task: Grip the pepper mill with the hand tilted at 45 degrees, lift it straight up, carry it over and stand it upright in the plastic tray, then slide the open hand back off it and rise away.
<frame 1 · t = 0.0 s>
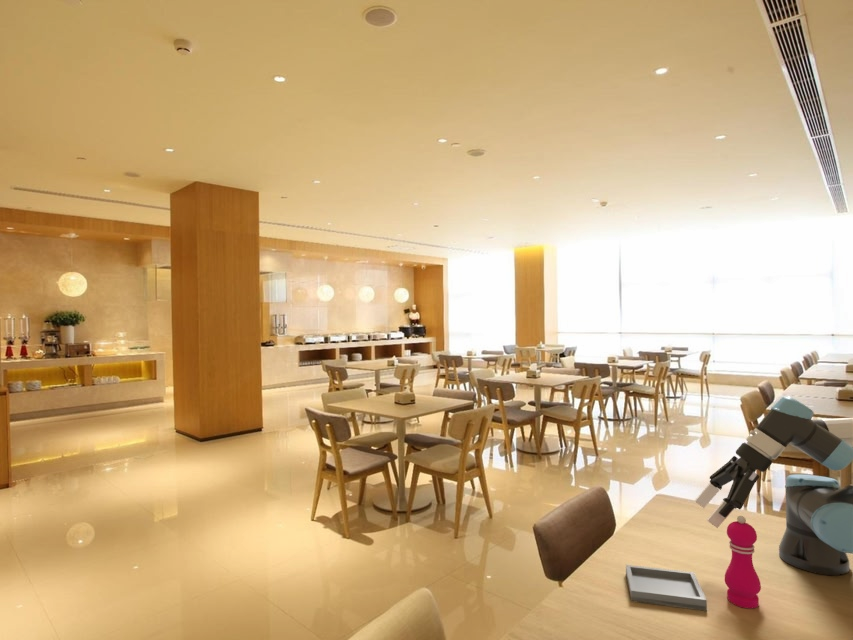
hand: (705, 514, 132), 15 cm above the table, tool tilted 35°, fingers open, 13 cm apart
tray: (663, 591, 124), on the table
pepper mill: (742, 602, 119), on the table
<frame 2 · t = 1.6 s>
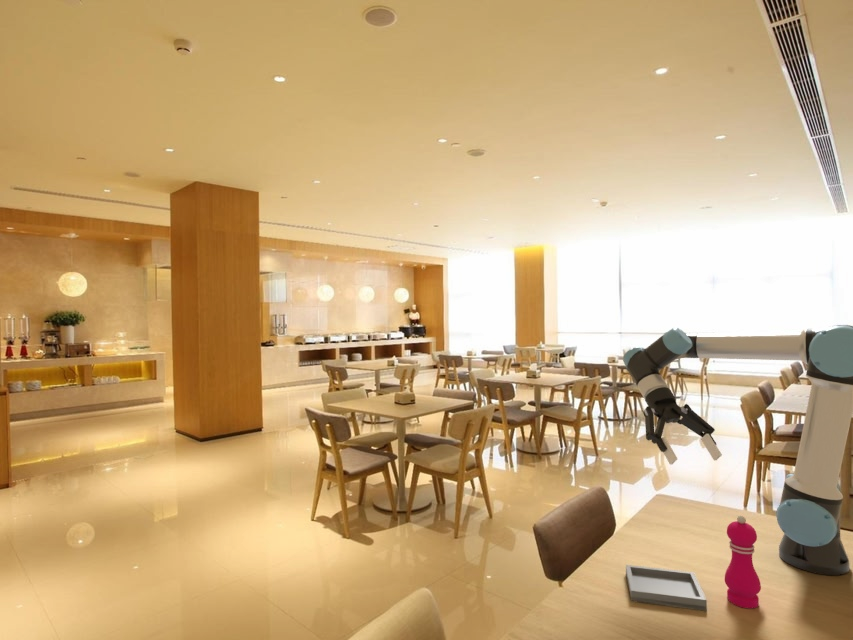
hand: (696, 459, 132), 30 cm above the table, tool tilted 45°, fingers open, 13 cm apart
nothing on the table moved.
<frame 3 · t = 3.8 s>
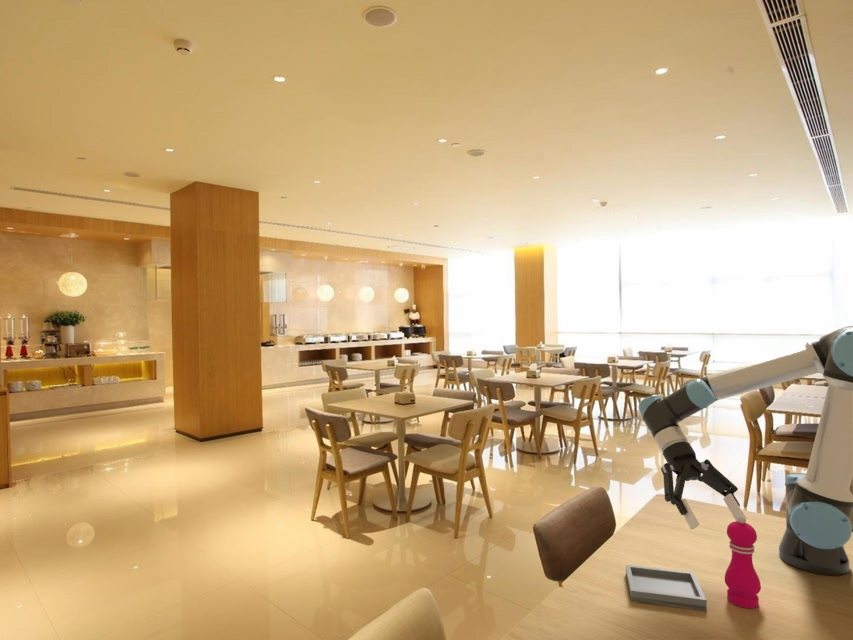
hand: (719, 524, 124), 16 cm above the table, tool tilted 45°, fingers open, 13 cm apart
nothing on the table moved.
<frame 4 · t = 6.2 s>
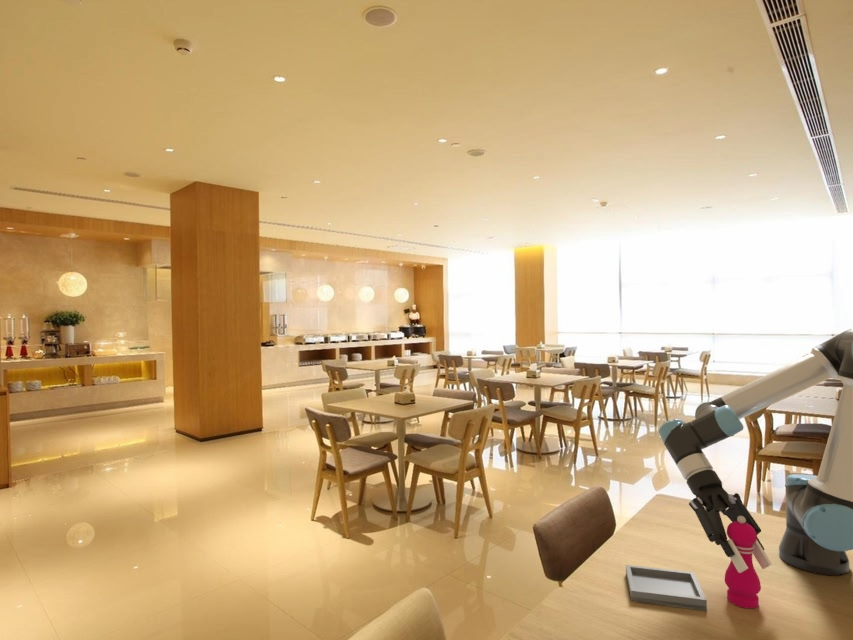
hand: (755, 568, 115), 9 cm above the table, tool tilted 45°, fingers closed on pepper mill, 6 cm apart
pepper mill: (742, 602, 119), on the table, touching gripper
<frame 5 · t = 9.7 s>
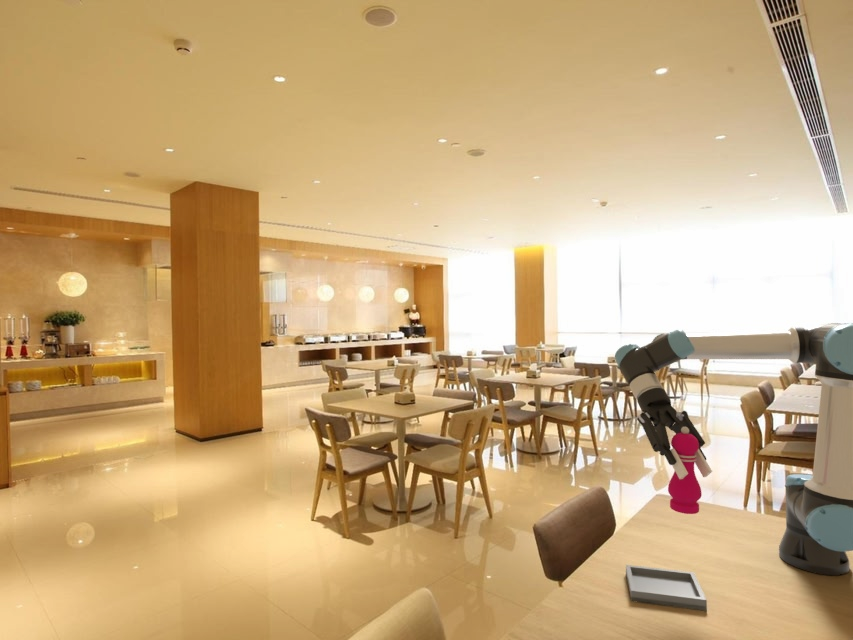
hand: (695, 475, 119), 30 cm above the table, tool tilted 45°, fingers closed on pepper mill, 6 cm apart
pepper mill: (684, 510, 122), point 20 cm above the table, touching gripper
when the fingers open (11 cm above the table, at t = 13.2 s): pepper mill stays where it is, resting on tray.
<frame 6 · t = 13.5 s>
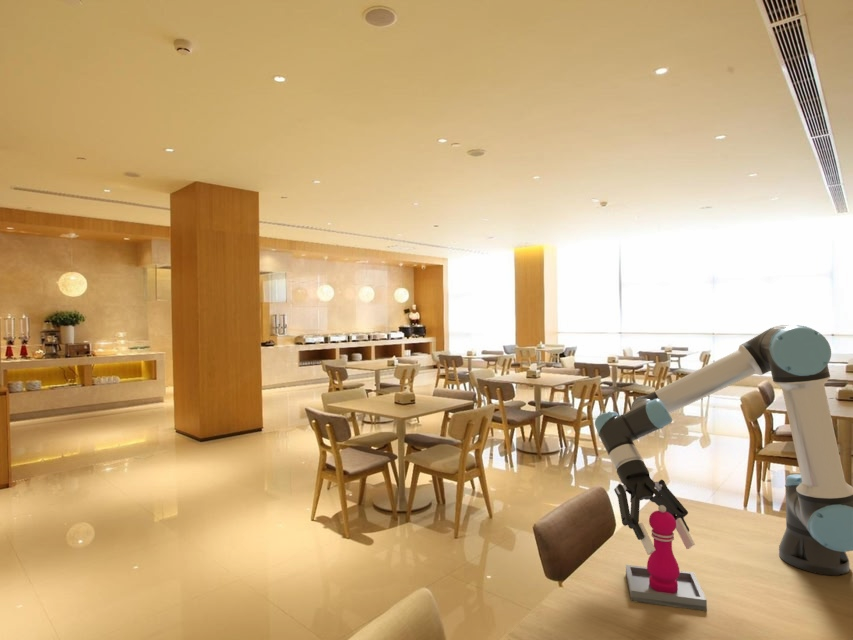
hand: (671, 549, 121), 12 cm above the table, tool tilted 45°, fingers open, 10 cm apart
pepper mill: (663, 587, 124), point 1 cm above the table, touching tray
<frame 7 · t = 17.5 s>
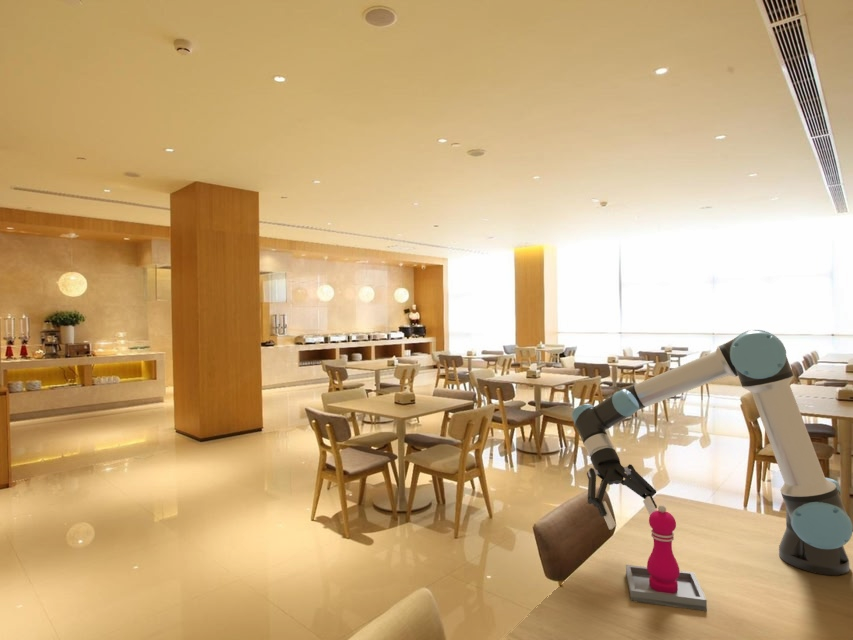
hand: (635, 524, 134), 12 cm above the table, tool tilted 45°, fingers open, 13 cm apart
nothing on the table moved.
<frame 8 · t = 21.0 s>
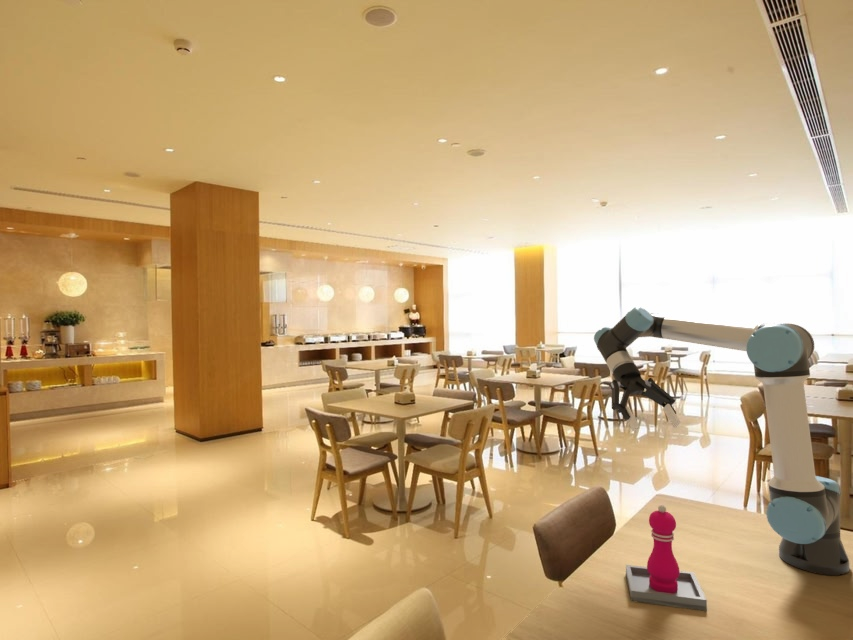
hand: (656, 426, 144), 36 cm above the table, tool tilted 45°, fingers open, 13 cm apart
nothing on the table moved.
at the end: pepper mill inside the target area on the tray (0.1 cm from its centre), point 0.8 cm above the tray's base; pepper mill tilted 0°; the gripper is holding nothing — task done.
